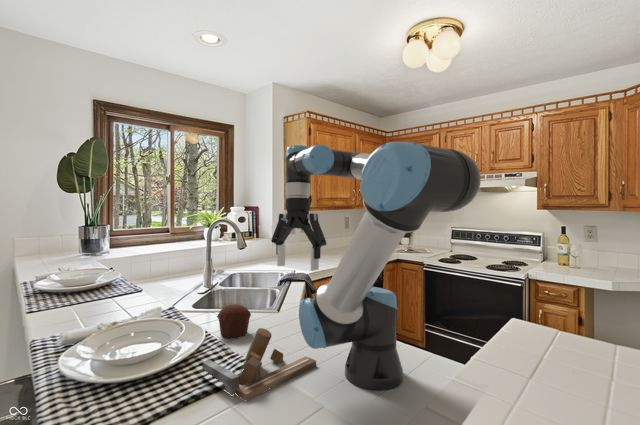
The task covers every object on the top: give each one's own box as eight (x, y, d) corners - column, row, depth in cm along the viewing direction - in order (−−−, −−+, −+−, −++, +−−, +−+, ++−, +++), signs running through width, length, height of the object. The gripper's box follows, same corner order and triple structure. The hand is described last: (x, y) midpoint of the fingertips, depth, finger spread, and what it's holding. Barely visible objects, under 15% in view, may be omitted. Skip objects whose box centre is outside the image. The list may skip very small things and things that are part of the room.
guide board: (316, 365, 92) (316, 351, 92) (242, 403, 73) (242, 385, 73) (275, 349, 103) (275, 336, 103) (202, 377, 84) (202, 362, 84)
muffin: (254, 329, 121) (255, 302, 121) (245, 340, 110) (245, 310, 110) (223, 327, 122) (224, 301, 122) (211, 338, 111) (211, 309, 111)
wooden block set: (251, 399, 79) (267, 363, 78) (222, 380, 81) (237, 345, 80) (280, 364, 96) (293, 334, 95) (256, 349, 99) (268, 319, 97)
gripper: (338, 196, 95) (338, 270, 94) (277, 199, 110) (277, 263, 110) (322, 195, 89) (322, 273, 88) (260, 198, 104) (259, 265, 104)
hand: (297, 268), depth 99 cm, fingers open, 13 cm apart
